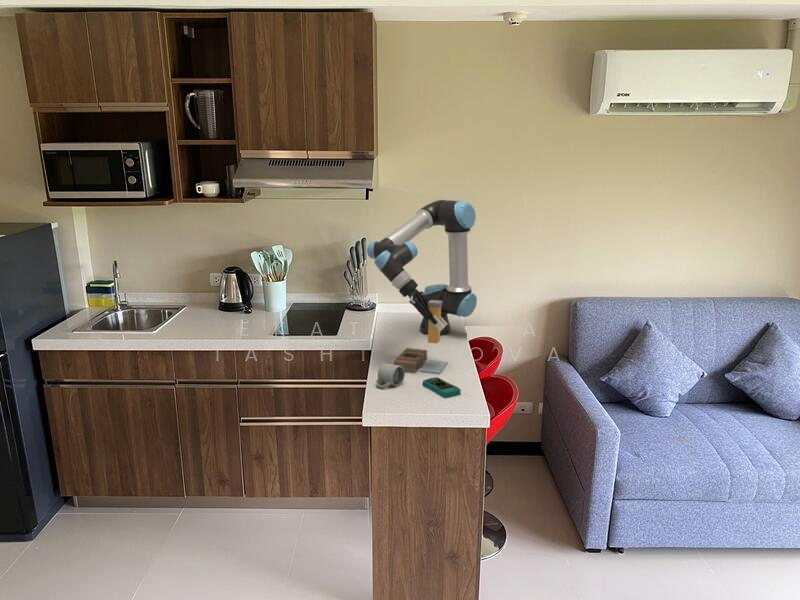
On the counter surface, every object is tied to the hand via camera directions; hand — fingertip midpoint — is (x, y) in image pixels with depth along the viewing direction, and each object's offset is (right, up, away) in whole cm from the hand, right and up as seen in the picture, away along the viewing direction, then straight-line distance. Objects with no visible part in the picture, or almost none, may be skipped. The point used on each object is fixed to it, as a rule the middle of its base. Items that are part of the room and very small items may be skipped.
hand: (443, 327), depth 240 cm
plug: (-4, -6, +3) cm, 7 cm away
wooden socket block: (-13, -16, +8) cm, 22 cm away
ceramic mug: (-22, -21, -13) cm, 33 cm away
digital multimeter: (-2, -23, -18) cm, 29 cm away
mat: (-3, -16, +6) cm, 18 cm away
